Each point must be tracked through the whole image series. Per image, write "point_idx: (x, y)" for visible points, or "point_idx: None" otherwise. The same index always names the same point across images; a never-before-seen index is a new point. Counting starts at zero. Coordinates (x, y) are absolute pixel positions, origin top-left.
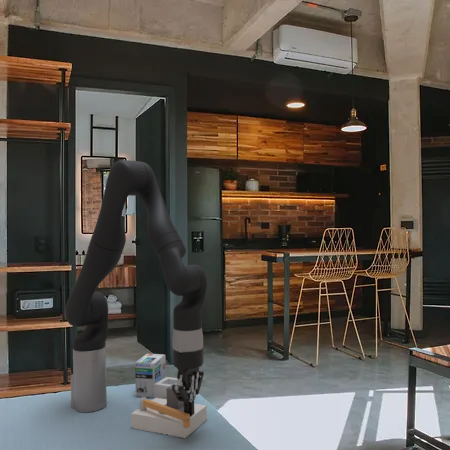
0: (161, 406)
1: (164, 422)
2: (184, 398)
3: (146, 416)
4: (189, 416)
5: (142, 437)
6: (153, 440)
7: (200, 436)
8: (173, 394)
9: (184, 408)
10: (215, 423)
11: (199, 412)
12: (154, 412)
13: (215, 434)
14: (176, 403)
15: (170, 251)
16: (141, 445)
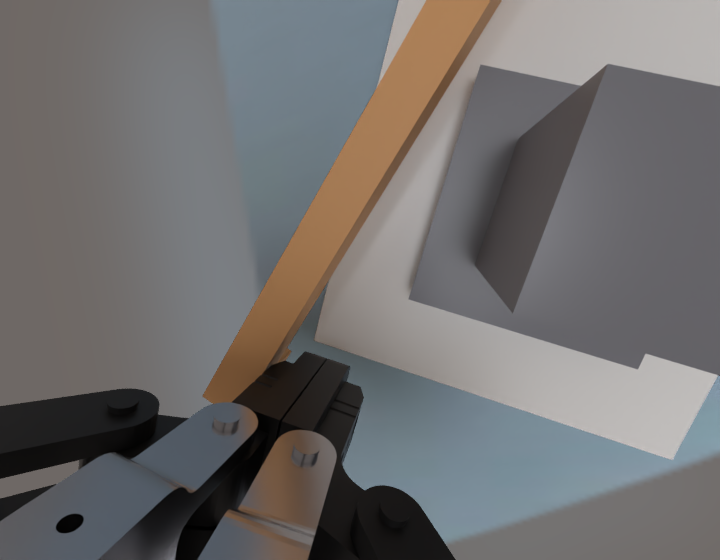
0: (372, 114)
1: None
2: (10, 505)
3: None
4: None
5: (318, 54)
6: (291, 139)
7: (369, 385)
8: (527, 218)
9: (251, 388)
10: (550, 452)
11: (532, 408)
12: (491, 28)
13: (401, 457)
14: (488, 251)
15: None
16: (226, 91)
